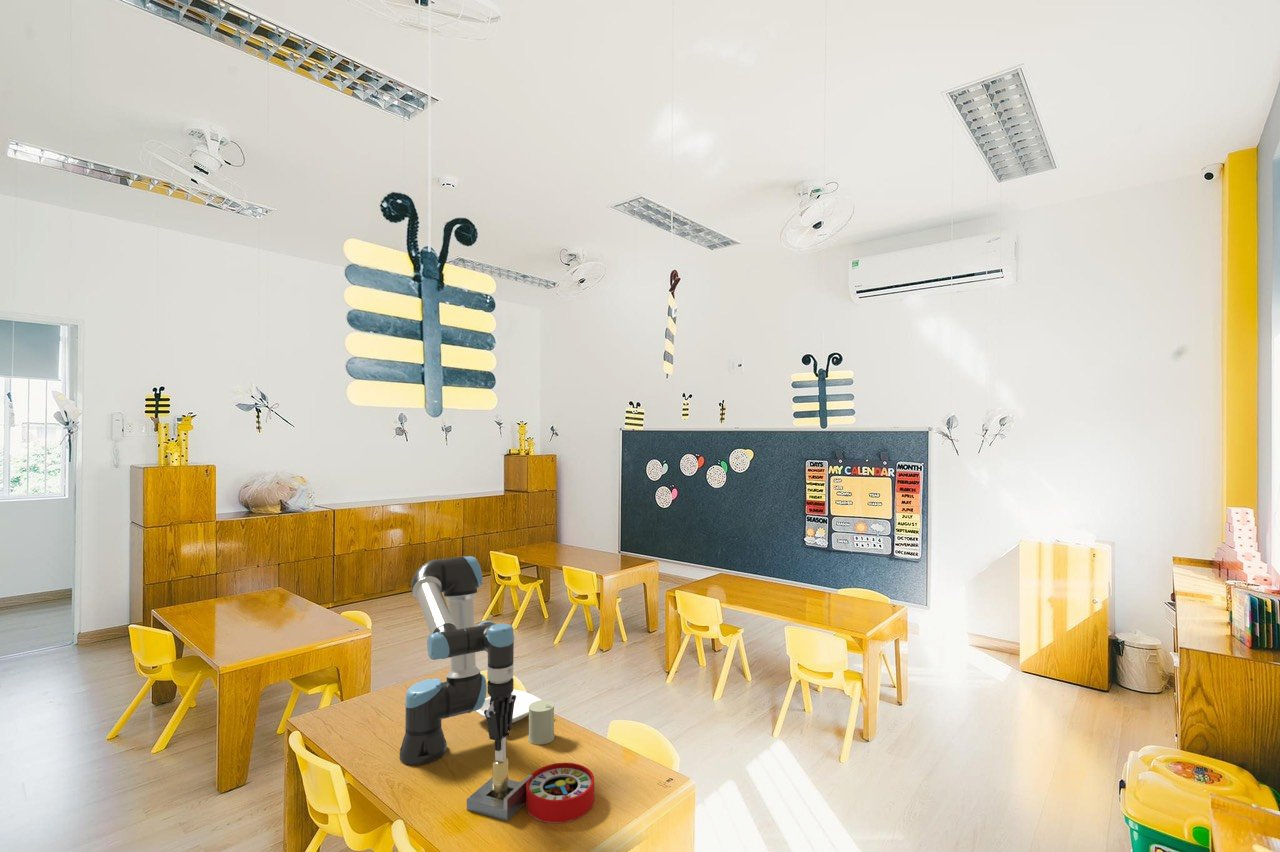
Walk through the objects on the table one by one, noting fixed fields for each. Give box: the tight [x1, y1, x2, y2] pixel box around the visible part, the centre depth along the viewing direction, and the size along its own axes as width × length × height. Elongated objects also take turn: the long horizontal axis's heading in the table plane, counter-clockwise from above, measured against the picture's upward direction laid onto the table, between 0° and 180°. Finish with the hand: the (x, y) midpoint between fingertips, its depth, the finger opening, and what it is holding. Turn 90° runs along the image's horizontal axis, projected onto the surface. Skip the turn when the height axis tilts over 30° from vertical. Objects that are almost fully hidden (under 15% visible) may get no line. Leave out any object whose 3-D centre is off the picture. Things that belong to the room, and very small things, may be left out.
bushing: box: [492, 757, 509, 800], centre depth 172 cm, size 4×4×12 cm
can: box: [528, 699, 555, 746], centre depth 210 cm, size 9×9×12 cm
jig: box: [466, 774, 533, 822], centre depth 172 cm, size 14×13×6 cm
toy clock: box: [525, 762, 595, 824], centre depth 172 cm, size 20×6×20 cm
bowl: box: [475, 688, 542, 724], centre depth 225 cm, size 22×23×6 cm
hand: (500, 759), depth 172 cm, fingers closed
